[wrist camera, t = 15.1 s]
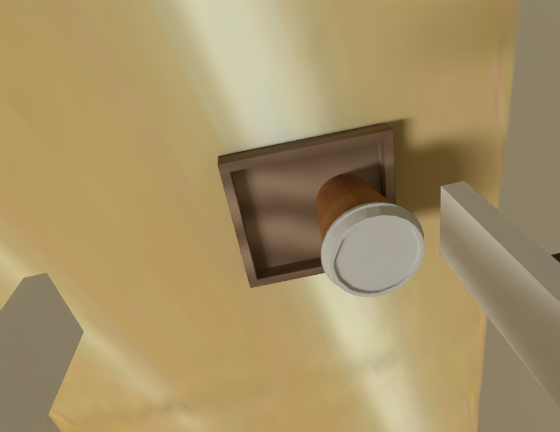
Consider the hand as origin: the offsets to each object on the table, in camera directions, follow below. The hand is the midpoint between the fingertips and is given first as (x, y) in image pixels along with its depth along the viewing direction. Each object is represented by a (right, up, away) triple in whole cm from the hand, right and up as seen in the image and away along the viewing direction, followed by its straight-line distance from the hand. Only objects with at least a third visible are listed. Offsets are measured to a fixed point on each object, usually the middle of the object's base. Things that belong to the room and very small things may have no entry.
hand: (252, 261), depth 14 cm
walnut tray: (+5, +3, +33) cm, 34 cm away
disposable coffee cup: (+8, +3, +33) cm, 34 cm away
